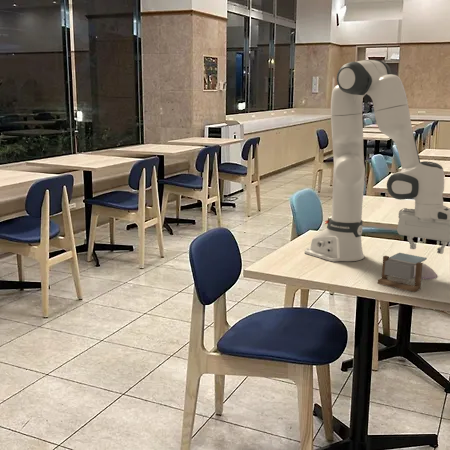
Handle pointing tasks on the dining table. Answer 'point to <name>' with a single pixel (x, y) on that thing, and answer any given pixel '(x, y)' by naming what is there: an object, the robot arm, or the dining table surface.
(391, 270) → the trapdoor
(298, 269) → the dining table surface
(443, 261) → the dining table surface
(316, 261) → the dining table surface
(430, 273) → the seashell
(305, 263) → the dining table surface
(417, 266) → the frame
